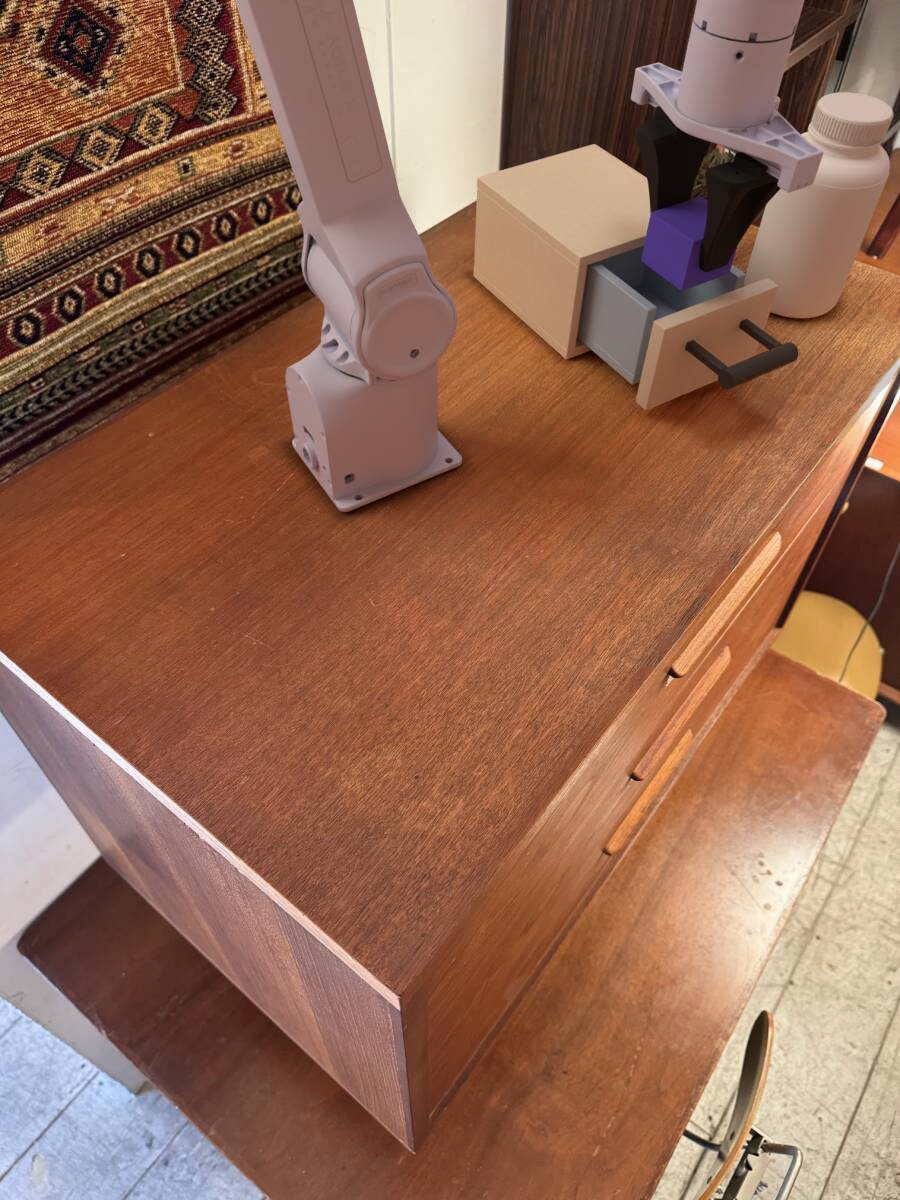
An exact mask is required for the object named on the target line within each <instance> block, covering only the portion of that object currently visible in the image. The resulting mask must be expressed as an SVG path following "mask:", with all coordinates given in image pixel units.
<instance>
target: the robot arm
mask: <svg viewBox="0 0 900 1200" xmlns="http://www.w3.org/2000/svg"><path fill="white" fill-rule="evenodd" d="M234 3H235V5H236V8H237V11H238V15H239V18H240V20H241V23H242V26H243V28H244V32H245V35H246V37H247V40H248V43H249V46H250V49H251V52H252V56H253V58H254V61H255V64H256V67H257V70H258V73H259V75H260V80H261V82H262V85H263V87H264V90H265V93H266V96H267V99H268V102H269V106H270V108H271V111H272V114H273V116H274V120H275V123H276V126H277V128H278V131H279V134H280V138H281V140H282V143H283V146H284V149H285V152H286V155H287V157H288V160H289V164H290V166H291V169H292V173H293V176H294V179H295V182H296V184H297V187H298V190H299V193H300V196H301V199H302V200H301V202H300V203H299V204H298V205H297V208H296V211H297V214H298V217H299V220H300V223H301V227H302V232H303V243H302V244H303V245H302V251H301V252H302V253H301V271H302V276H303V278H304V281H305V283H306V285H307V286H308V288H309V289H310V291H311V292H312V293H313V294H314V296H315V297H316V298H318V300H320V302H321V303H322V305H323V307H324V308H323V309H324V317H323V321H322V326H321V336H320V343H319V344H318V346H317V347H316V348H315V349H314V350H313V351H311V352H310V353H309V354H308V355H307V356H305V357H304V358H301V360H299V361H297V362H295V363H294V364H291V365H290V366H288V367H287V368H286V370H285V390H286V394H287V401H288V407H289V412H290V418H291V419H290V420H291V425H292V429H293V431H292V432H293V435H294V436H293V437H294V438H293V439H292V445H291V446H292V448H293V449H294V450H295V452H296V453H297V455H298V456H299V457H300V459H301V460H302V462H303V463H304V464H305V466H306V467H307V468H308V469H309V471H310V472H311V474H312V476H313V477H314V478H315V480H316V481H317V482H318V484H319V485H320V486H321V487H322V489H323V490H324V492H325V493H326V495H327V496H328V497H329V498H330V500H331V501H332V503H333V504H334V505H335V507H336V509H338V511H339V512H341V513H348V512H350V511H353V510H356V509H359V508H360V507H363V506H365V505H368V504H370V503H372V502H376V501H377V500H381V499H382V498H385V497H387V496H390V495H392V494H394V493H397V492H399V491H402V490H404V489H406V488H409V487H412V486H414V485H416V484H419V483H422V482H424V481H426V480H428V479H431V478H433V477H436V476H439V475H441V474H443V473H445V472H448V471H450V470H453V469H455V468H457V467H460V466H461V465H462V464H463V457H462V455H461V454H460V452H458V450H456V448H455V447H454V446H453V445H452V444H451V443H450V442H449V440H448V439H447V438H446V437H445V436H444V435H443V434H442V433H441V432H440V430H439V410H438V409H439V406H438V405H439V404H438V403H439V360H440V359H441V358H442V356H443V355H444V354H445V353H446V351H447V350H448V348H449V347H450V345H451V344H452V341H453V339H454V337H455V333H456V330H457V324H458V310H457V306H456V303H455V300H454V297H453V296H452V295H451V294H450V292H449V290H447V288H446V287H445V286H444V285H443V284H442V283H441V282H440V281H438V279H437V278H436V277H435V275H434V273H433V271H432V267H431V264H430V260H429V256H428V252H427V249H426V247H425V245H424V243H423V241H422V239H421V236H420V234H419V232H418V230H417V228H416V226H415V224H414V222H413V220H412V218H411V216H410V214H409V212H408V210H407V208H406V205H405V203H404V202H403V200H402V197H401V195H400V190H399V186H398V182H397V178H396V174H395V169H394V165H393V160H392V157H391V153H390V148H389V144H388V140H387V136H386V132H385V131H386V130H385V127H384V124H383V120H382V115H381V111H380V106H379V103H378V99H377V94H376V90H375V85H374V82H373V78H372V74H371V69H370V65H369V60H368V57H367V52H366V48H365V43H364V40H363V36H362V32H361V27H360V23H359V20H358V19H359V18H358V15H357V14H358V13H357V11H356V7H355V3H354V0H234ZM804 4H805V0H696V4H695V10H694V14H693V18H692V23H691V29H690V33H689V38H688V43H687V47H686V52H685V57H684V62H683V67H682V70H678V69H675V68H672V67H670V66H667V65H665V64H664V63H661V62H656V63H651V64H647V65H643V66H639V67H636V68H635V70H634V77H633V83H632V90H631V95H630V101H632V102H634V103H636V104H637V105H640V106H644V105H647V104H649V105H651V106H652V107H654V108H655V112H654V115H652V117H651V120H650V121H647V122H646V121H645V122H643V123H640V124H639V125H637V126H636V130H635V134H634V139H635V142H636V144H637V147H638V149H639V153H640V156H641V159H642V161H643V162H642V163H643V165H644V170H645V175H646V178H647V181H648V188H649V198H650V214H651V212H653V211H657V210H660V209H663V208H666V207H669V206H672V205H675V204H678V203H681V202H684V201H687V200H690V197H691V194H692V190H693V186H694V183H695V180H696V177H697V174H698V171H699V169H700V166H701V164H702V162H703V159H704V157H705V154H706V155H707V152H708V150H709V148H710V146H711V144H712V143H713V144H716V145H719V146H721V148H723V149H726V150H727V151H729V152H731V153H733V154H734V158H733V159H734V161H733V162H731V161H730V162H726V163H723V164H720V165H717V166H714V167H711V168H707V169H706V173H705V178H706V185H707V218H706V226H705V231H704V235H703V240H702V244H701V249H700V257H699V268H700V269H701V270H702V271H704V272H710V271H713V270H715V269H718V268H721V267H723V266H726V265H727V264H728V262H729V260H730V259H731V257H732V255H733V253H734V251H735V250H736V251H737V249H738V246H739V244H740V243H741V241H742V239H743V238H744V236H745V235H746V233H747V232H748V229H749V228H750V227H751V225H752V224H753V222H754V221H755V220H756V218H757V217H758V216H759V214H760V213H761V212H762V211H763V210H764V209H765V207H766V204H767V203H768V202H769V201H770V200H771V199H772V198H773V196H774V195H775V194H776V193H777V192H778V191H779V190H780V189H783V190H785V191H786V192H788V193H790V192H792V191H795V190H799V189H802V188H805V187H807V186H810V185H813V183H814V180H815V177H816V174H817V171H818V168H819V165H820V162H821V159H822V156H823V154H824V152H823V151H822V150H820V149H819V148H817V147H815V146H814V145H812V144H811V143H810V142H808V141H807V140H806V139H805V138H804V137H803V136H802V135H801V134H802V133H800V132H799V131H798V130H797V129H796V128H795V127H794V126H793V125H792V124H791V123H790V122H789V121H788V120H787V119H786V118H785V116H783V115H782V114H781V113H780V112H779V111H778V110H779V108H780V107H779V106H780V103H781V98H780V97H779V96H778V94H779V90H780V86H781V83H782V80H783V76H784V73H785V71H786V70H785V69H786V67H787V62H788V59H789V55H790V52H791V48H792V46H793V42H794V38H795V35H796V31H797V28H798V24H799V20H800V17H801V13H802V11H803V6H804ZM736 248H737V249H736Z"/></svg>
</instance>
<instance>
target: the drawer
mask: <svg viewBox="0 0 900 1200" xmlns="http://www.w3.org/2000/svg"><path fill="white" fill-rule="evenodd" d="M643 249H644V246H642V247H639V248H636V249H633V250H630V251H627V252H624V253H621V254H618V255H615V256H612V257H609V258H606V259H603V260H601V261H598V262H595V263H592V264H589V265H587V273H586V279H585V286H584V293H583V299H582V306H581V313H580V319H579V326H578V333H577V338H578V339H580V340H581V341H582V342H583V343H584V344H585V345H586V346H588V347H589V348H590V349H591V350H590V351H593V353H594V354H595V355H597V356H598V357H599V358H600V359H601V360H603V361H604V362H605V363H606V364H607V365H608V366H609V367H610V368H612V370H614V371H615V372H617V374H619V375H620V376H621V377H622V378H624V379H625V380H626V382H628V384H630V385H631V386H634V385H636V384H638V383H639V384H638V389H637V393H636V397H635V403H636V404H637V405H638V406H640V407H641V408H642V409H643V410H644V411H648V410H651V409H653V408H656V407H658V406H660V405H663V404H665V403H667V402H670V401H672V400H675V399H677V398H679V397H681V396H684V395H686V394H689V393H691V392H693V391H695V390H698V389H700V388H703V387H705V386H707V385H709V384H712V383H714V382H717V381H718V384H719V385H720V387H721V388H722V389H724V390H726V391H728V390H732V389H734V388H737V387H738V386H741V385H744V384H745V383H747V382H750V381H752V380H754V379H757V378H760V377H762V376H764V375H766V374H768V373H771V372H773V371H776V370H778V369H780V368H783V367H786V366H787V365H790V364H792V363H794V362H796V361H797V360H798V358H799V348H798V346H797V345H796V344H795V343H793V342H791V341H788V342H785V343H781V342H780V341H778V340H777V339H776V338H775V337H773V336H771V334H769V333H767V332H766V331H765V328H766V325H767V322H768V320H769V317H770V313H771V312H770V311H771V308H772V305H773V302H774V299H775V297H776V294H777V291H778V288H779V285H777V284H776V283H774V282H773V281H772V280H770V279H769V278H765V279H763V280H760V281H757V282H755V283H752V284H750V285H747V286H744V279H745V276H746V272H744V271H743V270H741V269H740V268H738V267H737V266H735V265H733V264H732V266H731V270H730V273H729V274H727V275H724V276H721V277H719V278H716V279H713V280H711V281H708V282H705V283H702V284H700V285H697V286H694V287H692V288H689V289H686V290H684V291H681V290H679V289H678V288H677V287H675V286H674V285H673V284H671V283H670V282H668V281H667V280H666V279H664V278H663V277H662V276H660V275H659V274H658V273H656V272H655V271H654V270H652V269H651V268H650V267H648V266H647V265H645V264H644V263H643V262H641V259H642V254H643ZM760 345H761V346H763V347H764V348H765V349H767V350H765V351H762V352H761V353H758V354H757V351H758V349H759V346H760Z"/></svg>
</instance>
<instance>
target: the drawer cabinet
mask: <svg viewBox="0 0 900 1200" xmlns="http://www.w3.org/2000/svg"><path fill="white" fill-rule="evenodd" d="M476 178H477V179H476V207H475V209H476V211H475V231H474V233H475V234H474V259H473V261H474V262H473V278H474V279H476V280H477V281H478V282H479V283H480V284H481V285H482V286H483V287H485V288H486V290H488V291H489V292H490V293H491V294H492V295H493V296H494V297H496V298H497V300H499V301H500V302H501V303H502V304H503V305H504V306H505V307H506V308H508V309H509V310H510V311H511V312H513V314H515V315H516V316H517V317H518V318H519V319H520V320H521V321H522V322H523V323H525V324H526V325H527V326H528V327H529V328H530V329H531V330H532V331H534V332H535V333H536V334H537V335H538V336H539V337H540V338H541V339H542V340H543V341H545V342H546V344H547V345H549V346H550V347H551V348H552V349H554V350H555V351H556V352H557V353H558V354H559V355H560V356H561V357H562V358H563V359H564V360H566V361H567V360H569V359H572V358H574V357H577V356H580V355H583V354H585V353H588V352H591V351H592V350H591V349H590V348H589V347H588V346H586V345H585V344H584V343H583V342H582V341H581V340H580V339H578V338H577V333H578V326H579V319H580V313H581V306H582V299H583V293H584V286H585V279H586V273H587V265H589V264H592V263H595V262H598V261H601V260H603V259H606V258H609V257H612V256H615V255H618V254H621V253H624V252H627V251H630V250H633V249H636V248H639V247H642V246H644V244H645V239H646V234H647V229H648V224H649V219H650V198H649V188H648V181H647V176H644V175H643V174H642V173H640V172H639V171H637V170H635V168H632V167H631V166H629V165H628V164H626V163H625V162H623V161H622V160H620V159H619V158H617V157H616V156H614V155H612V154H611V153H610V152H608V151H607V150H605V149H603V148H602V147H600V146H599V145H597V144H595V143H593V144H589V145H586V146H582V147H579V148H576V149H572V150H569V151H565V152H561V153H558V154H554V155H551V156H547V157H543V158H540V159H537V160H533V161H530V162H525V163H523V164H519V165H516V166H512V167H508V168H505V169H501V170H497V171H495V172H490V173H487V174H484V175H479V176H477V177H476Z"/></svg>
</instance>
